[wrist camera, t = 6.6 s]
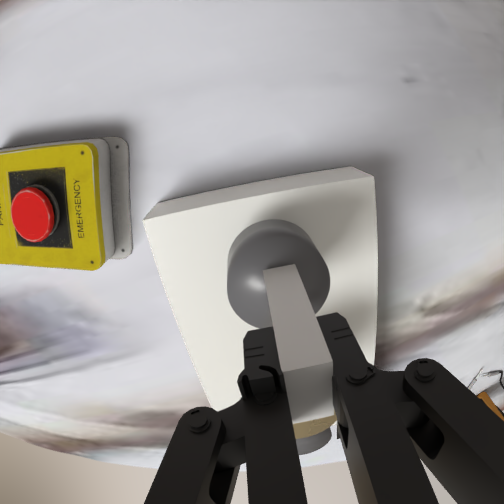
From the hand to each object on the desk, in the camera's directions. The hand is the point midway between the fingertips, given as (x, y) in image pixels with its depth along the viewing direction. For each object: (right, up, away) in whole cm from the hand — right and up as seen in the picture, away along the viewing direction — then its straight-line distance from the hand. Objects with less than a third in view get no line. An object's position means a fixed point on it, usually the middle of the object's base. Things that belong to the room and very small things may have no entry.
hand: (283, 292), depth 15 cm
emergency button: (-18, +6, +7) cm, 20 cm away
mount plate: (+1, -4, +11) cm, 12 cm away
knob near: (-1, +3, +7) cm, 8 cm away
